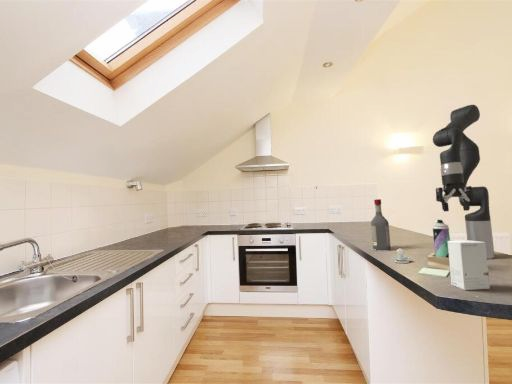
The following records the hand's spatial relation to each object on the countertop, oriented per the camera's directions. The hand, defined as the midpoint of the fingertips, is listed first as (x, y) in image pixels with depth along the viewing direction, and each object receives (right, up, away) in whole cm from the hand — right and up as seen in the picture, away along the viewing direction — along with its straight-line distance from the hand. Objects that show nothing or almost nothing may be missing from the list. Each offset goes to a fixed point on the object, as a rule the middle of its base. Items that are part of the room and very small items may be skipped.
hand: (456, 210), depth 109 cm
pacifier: (-18, -25, +10) cm, 32 cm away
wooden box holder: (-8, -23, -4) cm, 25 cm away
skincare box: (-17, -23, -27) cm, 39 cm away
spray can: (-8, -24, -4) cm, 25 cm away
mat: (-16, -24, -10) cm, 30 cm away
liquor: (-11, -26, +43) cm, 51 cm away
